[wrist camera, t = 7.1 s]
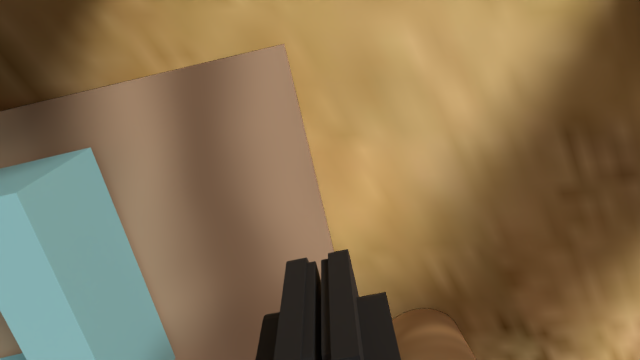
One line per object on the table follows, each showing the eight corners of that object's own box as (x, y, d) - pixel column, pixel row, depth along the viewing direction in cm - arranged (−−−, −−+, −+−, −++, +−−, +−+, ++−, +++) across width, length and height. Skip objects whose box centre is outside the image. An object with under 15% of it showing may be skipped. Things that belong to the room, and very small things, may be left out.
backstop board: (284, 43, 17) (280, 57, 10) (355, 341, 22) (391, 511, 14) (-250, 170, 17) (-670, 282, 10) (-69, 439, 22) (-260, 660, 14)
